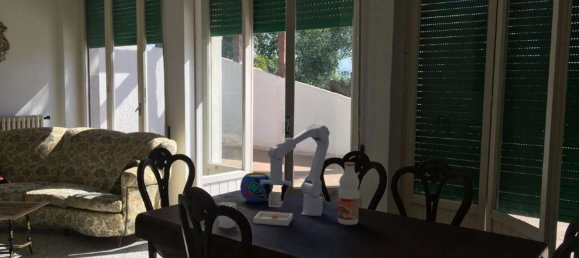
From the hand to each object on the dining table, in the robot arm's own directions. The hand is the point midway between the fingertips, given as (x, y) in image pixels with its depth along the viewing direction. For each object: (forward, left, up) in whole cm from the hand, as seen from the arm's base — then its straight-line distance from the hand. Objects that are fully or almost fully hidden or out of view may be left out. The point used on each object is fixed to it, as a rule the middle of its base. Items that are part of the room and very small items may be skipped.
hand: (275, 200), depth 219 cm
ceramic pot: (+17, -30, -9) cm, 36 cm away
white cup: (+18, +18, -9) cm, 27 cm away
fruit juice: (-34, -2, -9) cm, 35 cm away
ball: (-1, +7, -7) cm, 10 cm away
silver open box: (0, 0, -3) cm, 3 cm away
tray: (0, +4, -9) cm, 10 cm away
